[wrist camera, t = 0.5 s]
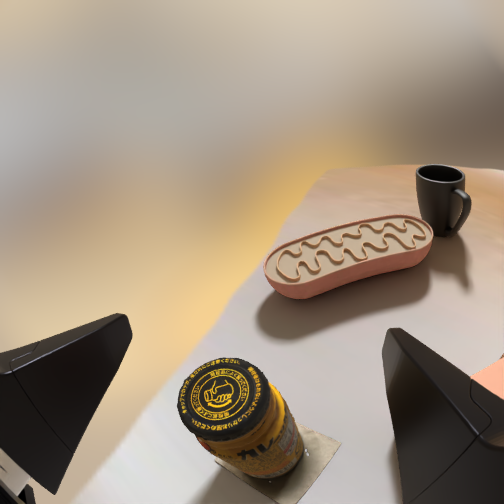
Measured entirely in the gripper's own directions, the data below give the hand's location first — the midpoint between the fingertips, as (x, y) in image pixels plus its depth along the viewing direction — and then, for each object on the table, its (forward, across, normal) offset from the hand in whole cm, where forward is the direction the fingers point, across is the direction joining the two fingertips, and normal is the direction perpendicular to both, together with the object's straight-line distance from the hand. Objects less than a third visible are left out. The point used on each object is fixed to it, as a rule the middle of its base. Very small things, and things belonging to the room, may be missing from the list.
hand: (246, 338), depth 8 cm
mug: (+32, -25, +5) cm, 41 cm away
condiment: (+5, -1, +17) cm, 18 cm away
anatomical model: (+27, -9, +10) cm, 30 cm away
